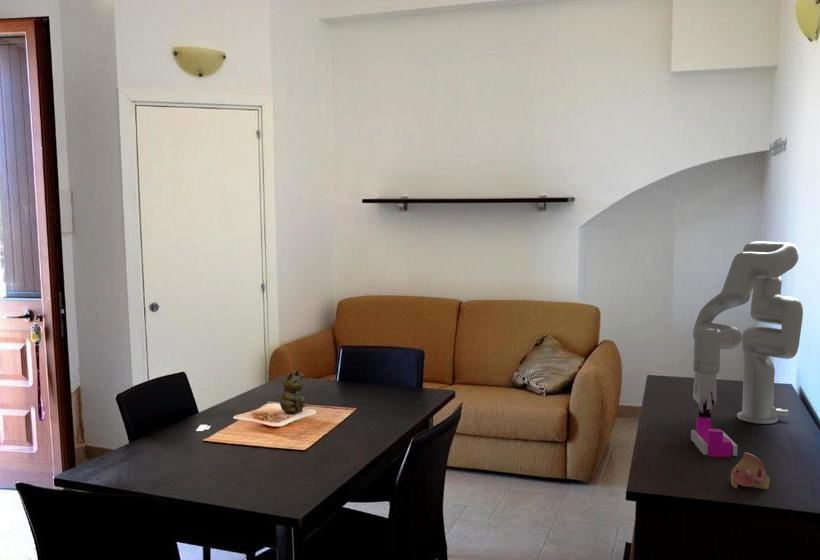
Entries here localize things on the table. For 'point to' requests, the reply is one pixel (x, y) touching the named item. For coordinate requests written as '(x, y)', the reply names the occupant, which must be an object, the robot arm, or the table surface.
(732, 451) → the guide channel
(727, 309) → the robot arm
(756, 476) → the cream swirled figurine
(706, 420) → the toy block
